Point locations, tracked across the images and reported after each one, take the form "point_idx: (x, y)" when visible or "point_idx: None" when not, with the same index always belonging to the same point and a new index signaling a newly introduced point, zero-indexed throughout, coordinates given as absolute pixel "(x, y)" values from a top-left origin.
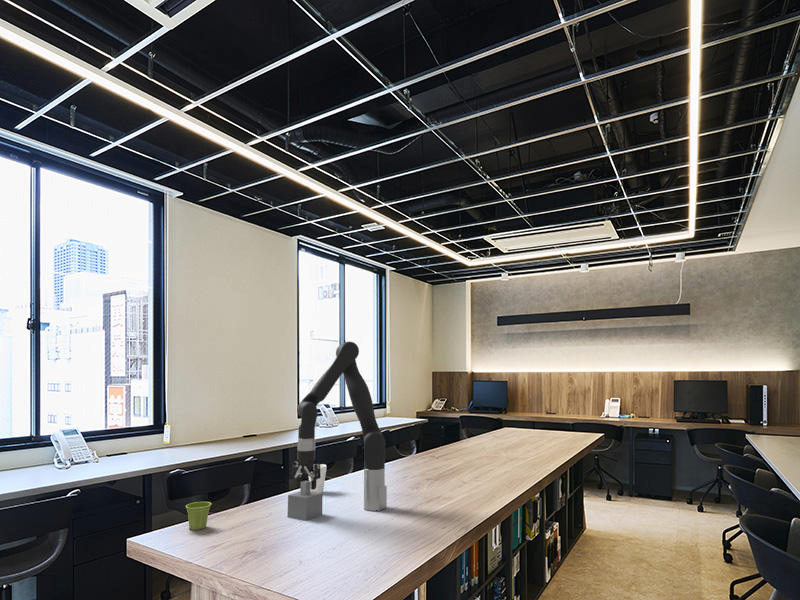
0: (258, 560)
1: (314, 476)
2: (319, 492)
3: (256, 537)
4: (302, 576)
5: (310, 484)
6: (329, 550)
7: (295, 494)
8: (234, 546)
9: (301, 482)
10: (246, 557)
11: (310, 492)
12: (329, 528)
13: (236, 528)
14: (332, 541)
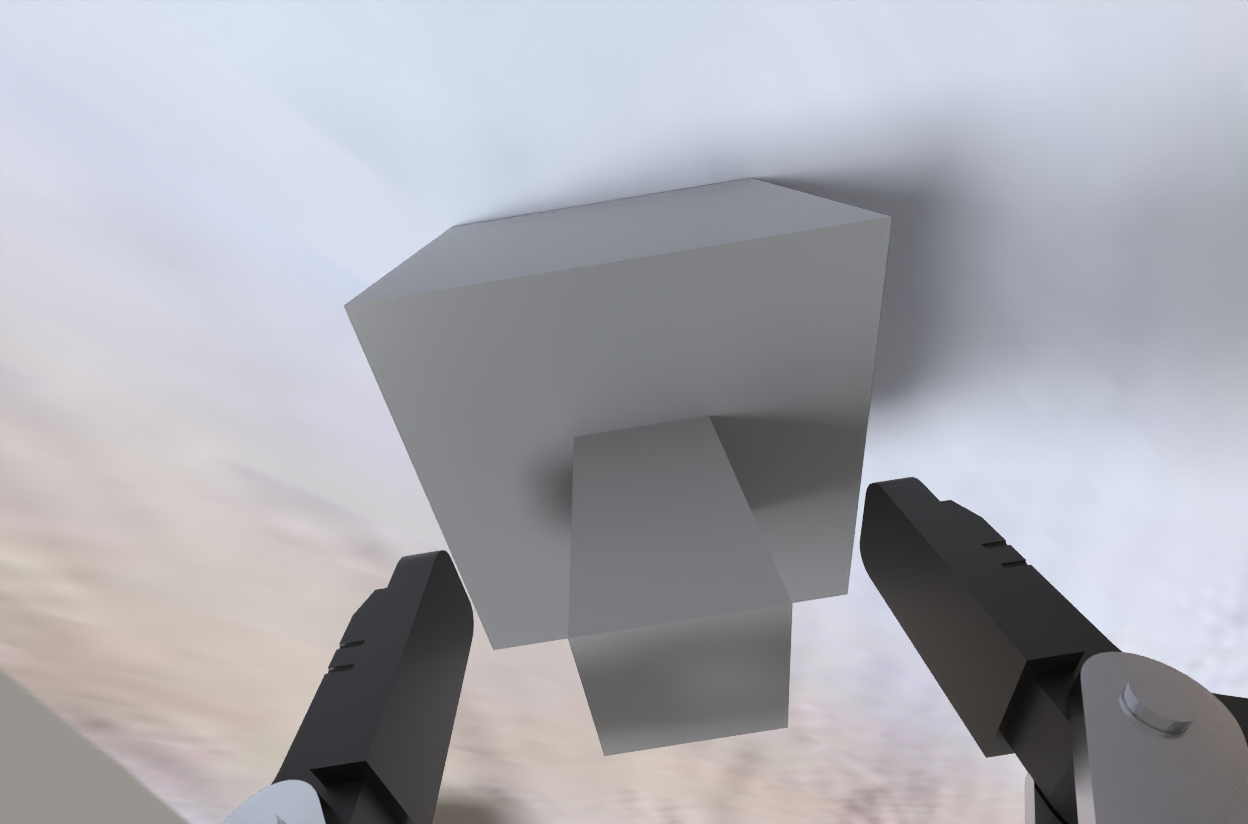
0: (956, 808)
1: (1151, 809)
2: (804, 236)
3: (739, 741)
4: None
5: (763, 542)
6: (1221, 642)
7: (550, 585)
8: (752, 812)
9: (635, 740)
10: (892, 819)
11: (714, 428)
12: (1072, 439)
13: (511, 747)
14: (1196, 571)
